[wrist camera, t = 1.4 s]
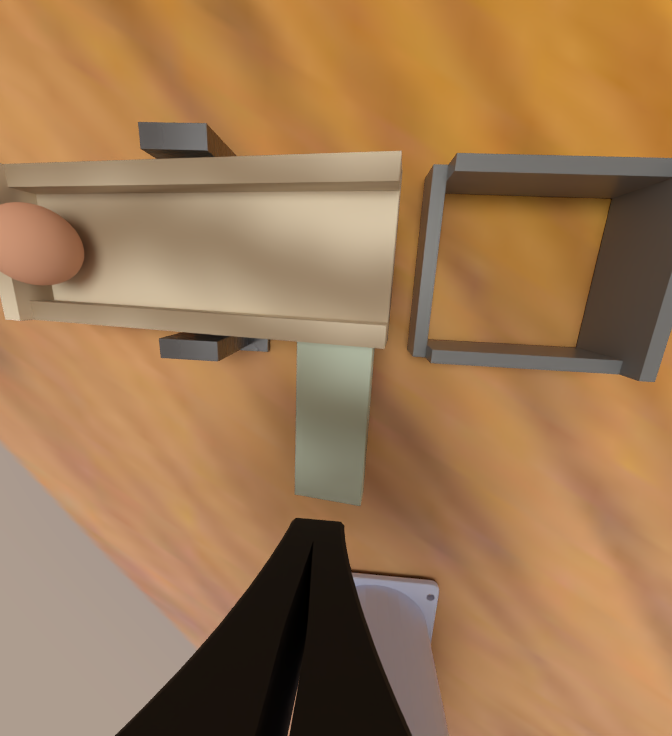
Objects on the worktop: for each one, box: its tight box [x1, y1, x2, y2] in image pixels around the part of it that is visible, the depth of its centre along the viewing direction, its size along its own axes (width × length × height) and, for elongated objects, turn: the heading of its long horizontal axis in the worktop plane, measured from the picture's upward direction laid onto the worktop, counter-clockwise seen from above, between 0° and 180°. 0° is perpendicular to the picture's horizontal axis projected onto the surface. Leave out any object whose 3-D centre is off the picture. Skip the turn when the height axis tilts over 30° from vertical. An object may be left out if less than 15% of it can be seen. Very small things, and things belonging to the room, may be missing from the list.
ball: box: [0, 202, 84, 286], centre depth 12 cm, size 3×3×3 cm
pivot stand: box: [138, 122, 270, 361], centre depth 14 cm, size 9×4×5 cm, turn 177°
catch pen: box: [407, 153, 672, 382], centre depth 14 cm, size 8×9×4 cm
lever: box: [0, 151, 402, 506], centre depth 13 cm, size 13×16×2 cm
